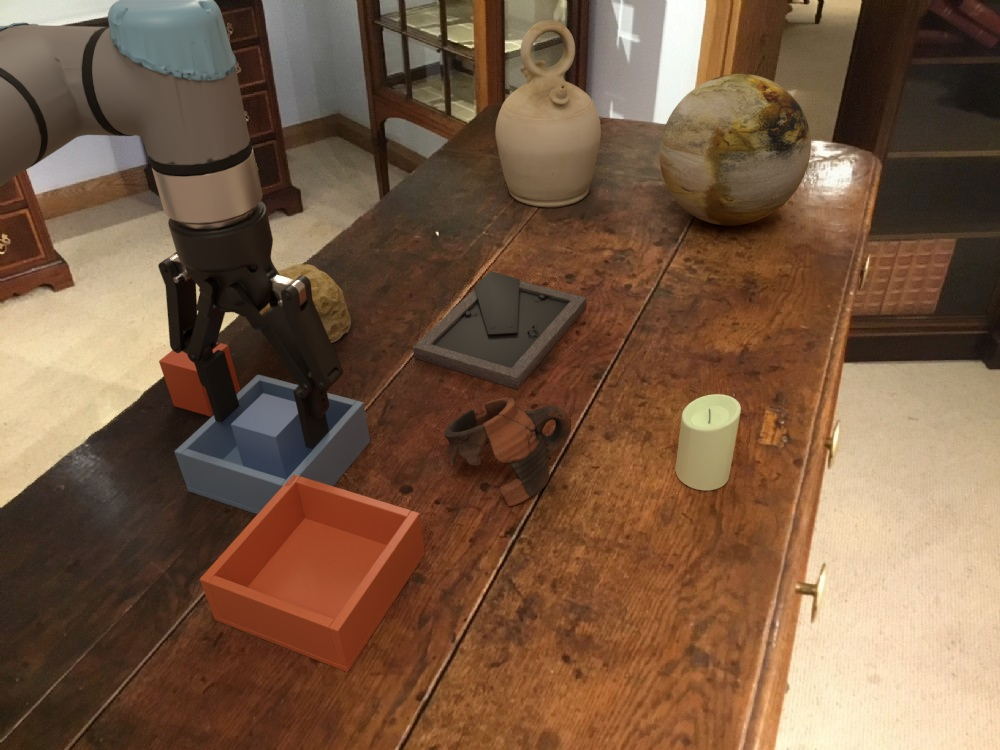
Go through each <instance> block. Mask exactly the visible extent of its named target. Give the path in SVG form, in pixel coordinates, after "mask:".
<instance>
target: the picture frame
mask: <svg viewBox="0 0 1000 750" xmlns="http://www.w3.org/2000/svg"><path fill="white" fill-rule="evenodd" d="M473 287H474V289H473V290H472V291H471V292H470V293H469V294H467V295H466V296H465V297H464V298H463V299H462V300H461V301H460V302H459V303H458V304H457V305H456V306H454V308H452V309H451V310H450V312H448V313H447V314H446V315H445V316H444V317H443V318H442V319H441V320H439V322H438V323H436V325H434V326H433V327H432V328H431V329H430V330H429V331H427V333H426V334H425V335H424V336H423V337H422V338H420V339H419V340H418V342H416V343H415V344H414V345H413V346H412V351H413V358H414V359H416V360H420V361H422V362H425V363H428V364H432V365H435V366H439V367H442V368H446V369H449V370H451V371H455V372H458V373H461V374H465V375H468V376H472V377H475V378H478V379H481V380H484V381H488V382H491V383H494V384H497V385H501V386H504V387H507V388H511V389H513V390H517V391H518V390H519V389H520V388H521V387H522V385H523V384H524V383H525V382H526V381H527V380H528V378H529V377H530V376H531V375H532V374H533V373H534V371H535V370H536V369H537V368H538V366H539V365H540V364H541V363H542V361H543V360H544V359H545V358H546V357H547V356H548V355H549V353H550V352H551V351H553V349H554V347H555V346H556V345H558V343H559V341H560V340H561V339H562V338H563V337H564V336H565V334H566V333H567V332H568V331H569V330H570V329H571V328H572V326H573V325H574V324H575V322H577V320H578V319H579V318H580V317H581V315H582V314H583V313H584V312H585V311H586V309H587V299H588V298H587V297H585V296H582V295H577V294H573V293H569V292H566V291H561V290H558V289H553V288H549V287H545V286H541V285H538V284H533V283H529V282H525V281H521V280H520V278H517V277H514V276H509V275H506V274H503V273H499V272H496V271H492V270H490V271H489V272H487V274H486V275H485V276H483V277H482V278H481V279H480V280H479V281H478V282H477V283H476V284H475V285H474V286H473Z"/></svg>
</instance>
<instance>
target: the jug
mask: <svg viewBox="0 0 1000 750" xmlns="http://www.w3.org/2000/svg"><path fill="white" fill-rule="evenodd" d="M546 33H554V34H556V35H558V36H559V37H560V40H561V42H562V45H563V50H562V51H563V52H562V56H561V58H560V59H559V61H557V63H555V64H554V65H551V66H549V67H546V61H545V60H541V59H536V60H533V56H532V55H533V54H532V53H533V47H534V44H535V43H536V41H537V40H538V39H539V37H540V36H541V35H544V34H546ZM575 55H576V44H575V40H574V37H573V35H572V33H571V31H570V29H568V28H567V26H566V25H564V24H563V23H561V22H559V21H557V20H553V19H543V20H540V21H538V22H536V23H534V24H533V25H532V26H531V27H530V28H529V29H528V30H527V31H526V33H525V34H524V36H523V38H522V40H521V44H520V60H521V63H522V65H521V67H520V68H519V70H520V72H521V73H522V74H523V76H524V78H525V79H526V83H524V84H522V85H521V86H519V87H518V88H516V89H515V90H514V91H513V92H512V93H511V94H509V95H508V96H507V98H505V100H504V101H503V103H502V104H501V107H500V110H499V112H498V114H497V115H498V116H497V118H496V121H495V122H496V123H495V142H496V148H497V152H498V157H499V161H500V166H501V170H502V173H503V174H502V175H503V177H504V181H505V185H506V186H507V189H508V193H509V194H510V196H511V197H512V198H513V199H514V200H515V201H518V202H519V203H522V204H525V205H528V206H530V207H536V208H546V209H547V208H548V209H553V208H555V209H556V208H562V207H566V206H571V205H574V204H577V203H579V202H581V201H582V200H583V199H585V198H586V197H587V195H589V193H590V186H591V184H592V180H593V177H594V173H595V168H596V165H597V159H598V154H599V151H600V150H599V149H600V145H601V141H602V140H601V139H602V126H601V119H600V115H599V112H598V109H597V107H596V105H595V102H594V101H593V99H592V98H591V97H590V96H589V94H588V93H586V92H585V91H584V90H583V89H581V88H580V87H578V86H577V85H575V84H573V83H571V82H569V81H566V79H565V78H564V74H566V73H567V71H569V70H570V68H571V66H572V65H573V63H574V59H575Z"/></svg>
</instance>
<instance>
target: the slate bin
mask: <svg viewBox="0 0 1000 750" xmlns="http://www.w3.org/2000/svg"><path fill="white" fill-rule="evenodd" d="M298 386H299V385H298V384H297V383H292V382H288V381H286V380H285V381H284V380H280V379H277V378H273V377H269V376H265V375H262V374H257V375H255V376H254V377H253V378H252V379H251V380H250V381H249V382H248V383H247V384H245V386H244V387H243V388H240V390H239V391H238V392H237V393H236V395H237V398H238V402H239V405H240V406H239V407H238V408H237V409H236V410H235V411H234V412H233V413H231V414H230V415H229V416H228V417H227V418H226V419H225V420H224V421H223V422H218V421H215V417H214V414H213V415H212V416H211V417H210V418H209V419H208V420H206V422H204V423H203V425H201V426H200V427H199V428H198V429H197V430H196V431H194V432H193V433H192V434H191V436H189V438H187V439H186V440H185V441H183V443H182V444H180V446H178V448H176V449H175V450H174V455H175V457H176V460H177V461H176V462H177V463H178V467H179V469H180V472H181V475H182V478H183V481H184V484H185V486H186V490H187V491H188V493H193V494H195V495H198V496H200V497H204V498H207V499H210V500H213V501H215V502H220V503H223V504H225V505H228V506H231V507H234V508H238V509H240V510H243V511H247V512H249V513H252V514H254V515H255V514H256V515H257V514H258V513H259V512H260V511H261V510H262V509H263V508H264V507H265V505H266V504H267V503H268V502H269V501H270V500H271V499H272V498H273V496H274V495H275V494H276V493H277V492H278V491H279V490H280V489H281V488H282V486H284V485H285V484H286V482H287V481H288V480H289V479H290V478H291V477H292V476H295V475H297V476H301V477H304V478H307V479H311V480H314V481H317V482H320V483H324V484H327V485H330V486H333V487H335V485H336V484H337V483H338V481H340V479H341V478H342V477H343V475H344V474H345V473H346V472H347V470H349V468H350V467H351V466H352V465H353V463H354V462H355V461H356V460H357V459H358V458H359V456H360V455H361V454H362V452H364V450H365V449H366V447H367V446H368V445H369V444H370V443H371V438H370V433H369V426H368V420H367V414H366V408H365V403H364V401H359V400H356V399H353V398H349V397H345V396H341V395H337V394H334V393H330V392H327V395H328V401H329V405H330V406H329V409H328V411H327V412H326V418H327V423H328V428H329V432H328V433H327V434H326V435H325V436H324V437H323V439H322V440H321V441H320V442H319V443H318V444H317V445H316V447H315V448H314V449H313V450H312V451H311V453H310V454H309V455H308V456H307V457H306V458H305V459H304V460H303V462H302V463H301V464H300V465H299V466H298V467H297V468H296V469H295V470H294V472H293V473H292V474H291V475H290V476H289V477H288V478H287V479H286V480H285V479H283V478H279V477H276V476H273V475H270V474H267V473H263V472H260V471H257V470H254V469H250V468H247V467H244V466H243V464H242V461H241V457H240V454H239V451H238V447H237V444H236V440H235V437H234V433H233V430H232V427H231V424H232V423H233V422H234V421H235V420H236V419H237V418H238V417H239V416H240V415H241V414H242V413H243V412H244V411H245V410H246V409H247V408H248V407H249V406H250V405H251V404H252V403H253V402H255V401H256V400H257V399H258V398H259V397H260V396H261V395H262V394H263V393H264V394H268V395H272V396H276V397H279V398H283V399H287V400H290V401H294V402H296V401H295V397H294V393H293V391H294V390H295V389H296V388H297V387H298ZM295 478H296V477H295ZM293 479H294V478H293ZM291 481H292V480H291ZM291 481H290V482H289V484H291V483H292V482H291ZM293 481H294V480H293ZM287 483H288V482H287ZM286 485H287V484H286Z"/></svg>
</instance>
